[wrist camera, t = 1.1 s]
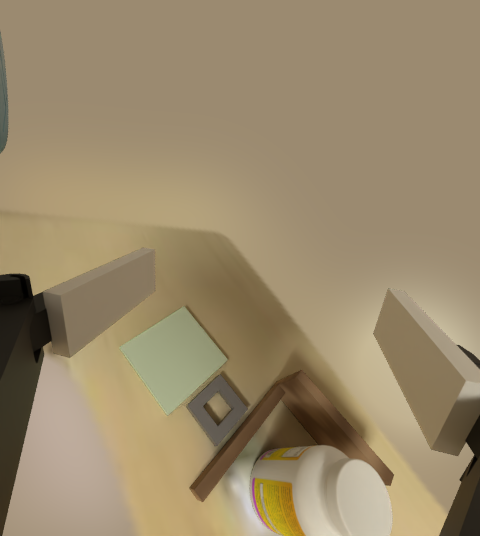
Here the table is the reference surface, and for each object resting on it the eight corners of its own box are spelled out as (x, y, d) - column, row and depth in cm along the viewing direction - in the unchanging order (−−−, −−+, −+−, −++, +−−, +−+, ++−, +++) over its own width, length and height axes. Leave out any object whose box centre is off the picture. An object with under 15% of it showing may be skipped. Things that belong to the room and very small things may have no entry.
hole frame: (185, 406, 28) (187, 405, 28) (218, 375, 31) (220, 374, 31) (214, 446, 27) (217, 445, 27) (245, 410, 30) (247, 409, 30)
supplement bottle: (288, 549, 25) (400, 606, 15) (235, 501, 25) (310, 526, 16) (311, 474, 29) (409, 481, 20) (265, 434, 30) (338, 423, 20)
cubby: (189, 488, 25) (206, 494, 20) (276, 381, 34) (301, 369, 29) (287, 631, 22) (332, 676, 17) (353, 472, 31) (393, 474, 27)
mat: (119, 348, 29) (119, 346, 29) (183, 307, 35) (184, 305, 34) (167, 416, 27) (168, 415, 27) (226, 361, 33) (227, 359, 32)
